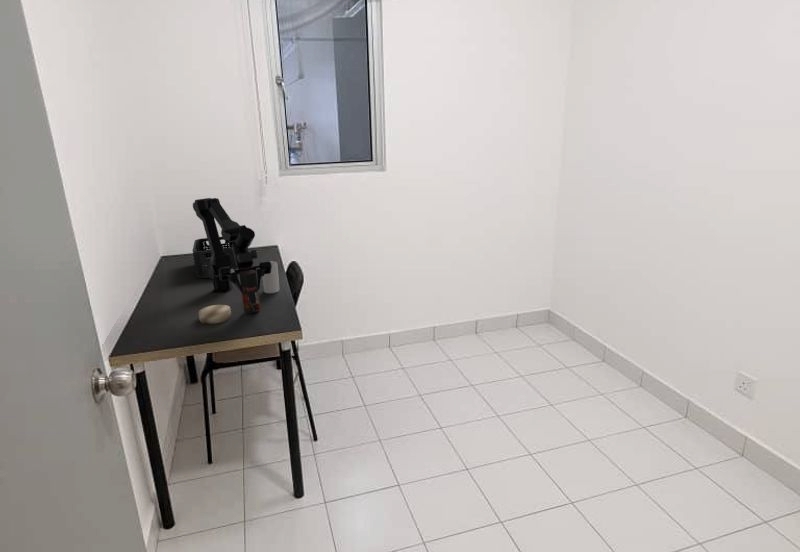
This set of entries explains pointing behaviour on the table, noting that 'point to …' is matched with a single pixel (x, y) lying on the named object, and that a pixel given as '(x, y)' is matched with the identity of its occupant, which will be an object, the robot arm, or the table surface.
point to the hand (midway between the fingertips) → (250, 290)
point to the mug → (271, 280)
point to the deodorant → (249, 291)
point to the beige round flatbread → (214, 314)
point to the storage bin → (208, 256)
